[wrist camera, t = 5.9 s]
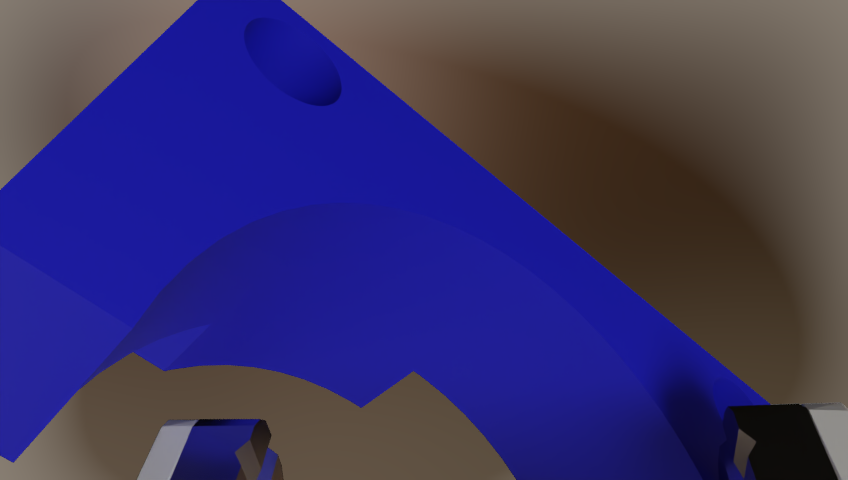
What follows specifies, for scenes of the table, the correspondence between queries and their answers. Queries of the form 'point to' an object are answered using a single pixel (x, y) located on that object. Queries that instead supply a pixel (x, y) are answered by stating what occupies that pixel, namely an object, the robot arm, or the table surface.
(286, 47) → the cable clip
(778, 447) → the robot arm
